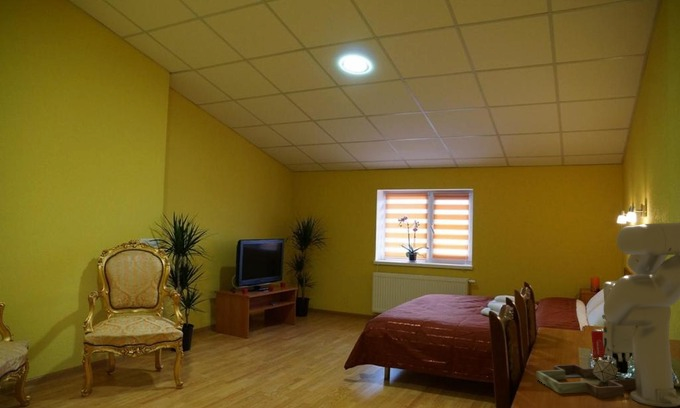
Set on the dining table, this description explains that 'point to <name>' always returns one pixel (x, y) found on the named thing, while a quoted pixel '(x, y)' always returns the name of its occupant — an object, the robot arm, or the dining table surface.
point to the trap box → (577, 371)
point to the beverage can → (597, 343)
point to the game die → (605, 370)
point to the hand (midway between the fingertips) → (622, 372)
